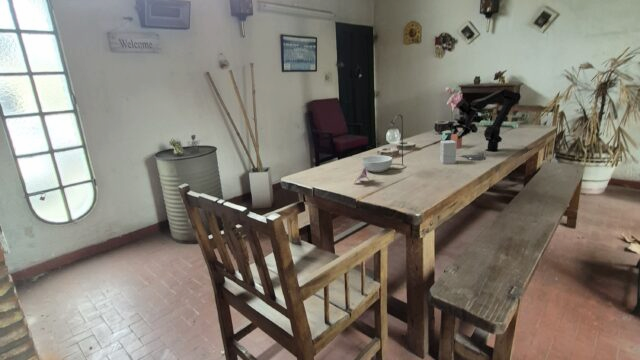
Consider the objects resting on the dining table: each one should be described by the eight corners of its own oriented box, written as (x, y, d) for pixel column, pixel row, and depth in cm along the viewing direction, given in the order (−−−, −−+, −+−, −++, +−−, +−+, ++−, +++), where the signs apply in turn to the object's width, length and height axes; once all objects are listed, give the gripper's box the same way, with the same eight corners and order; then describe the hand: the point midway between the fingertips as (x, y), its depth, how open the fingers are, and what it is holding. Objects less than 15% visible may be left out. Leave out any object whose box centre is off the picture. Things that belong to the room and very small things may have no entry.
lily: (370, 180, 179) (360, 164, 178) (383, 176, 169) (374, 159, 168) (355, 192, 174) (345, 176, 172) (368, 188, 163) (358, 172, 162)
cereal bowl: (374, 165, 203) (374, 153, 201) (398, 169, 192) (398, 157, 190) (356, 171, 192) (356, 159, 190) (380, 176, 181) (380, 163, 179)
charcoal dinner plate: (473, 155, 211) (473, 154, 211) (487, 158, 203) (488, 156, 202) (462, 158, 206) (462, 156, 206) (477, 161, 198) (477, 159, 198)
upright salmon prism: (455, 146, 213) (456, 133, 210) (461, 148, 209) (462, 134, 207) (450, 148, 211) (451, 134, 208) (456, 149, 207) (457, 135, 204)
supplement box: (452, 160, 202) (453, 139, 199) (455, 163, 195) (456, 142, 192) (439, 161, 203) (440, 140, 200) (442, 164, 196) (443, 142, 193)
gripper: (449, 108, 213) (436, 128, 211) (476, 110, 197) (462, 131, 195) (457, 119, 219) (444, 138, 217) (483, 121, 203) (470, 142, 201)
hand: (455, 137), depth 207 cm, fingers closed on upright salmon prism, 4 cm apart
